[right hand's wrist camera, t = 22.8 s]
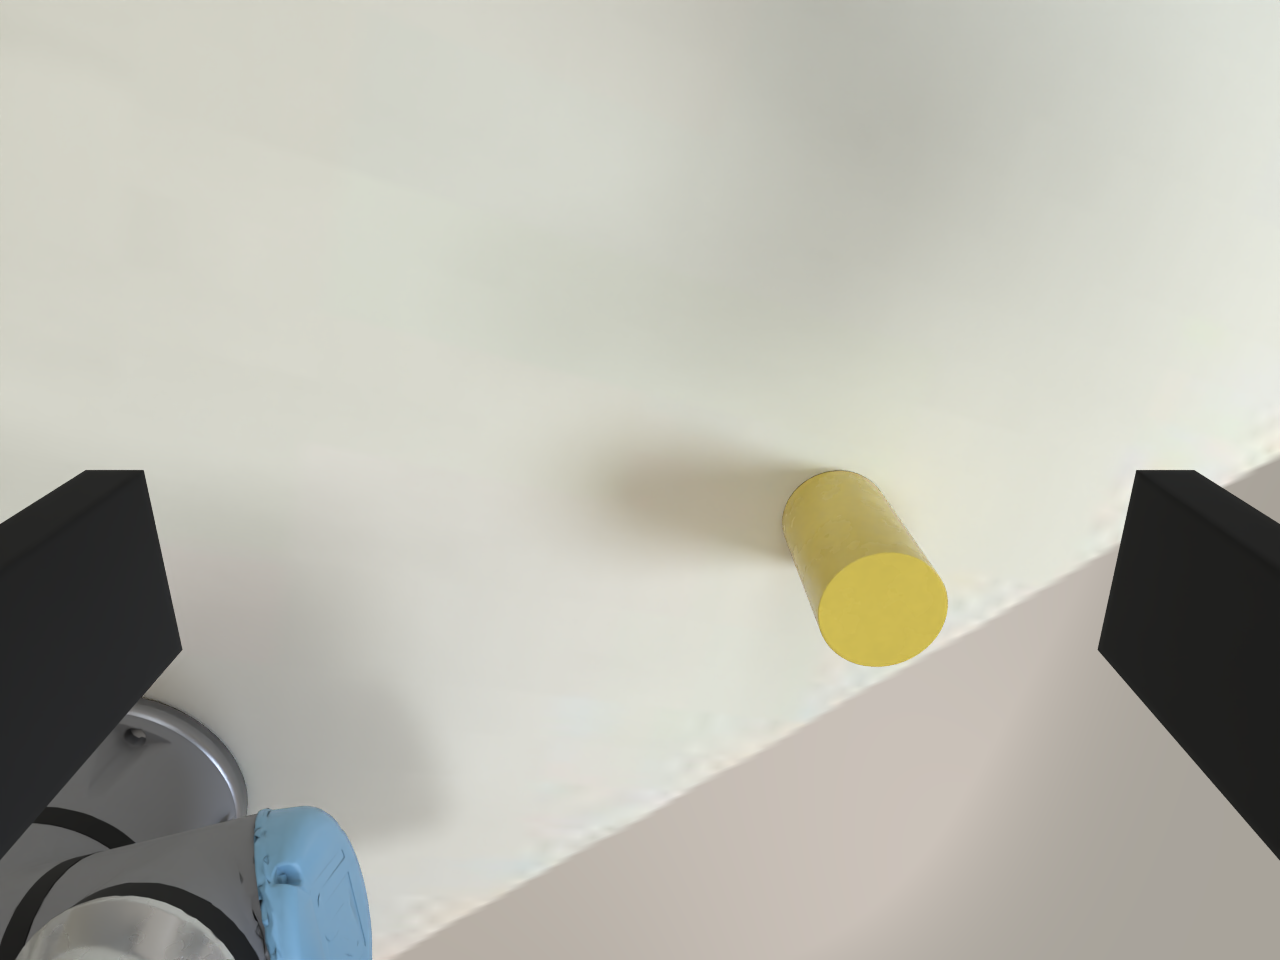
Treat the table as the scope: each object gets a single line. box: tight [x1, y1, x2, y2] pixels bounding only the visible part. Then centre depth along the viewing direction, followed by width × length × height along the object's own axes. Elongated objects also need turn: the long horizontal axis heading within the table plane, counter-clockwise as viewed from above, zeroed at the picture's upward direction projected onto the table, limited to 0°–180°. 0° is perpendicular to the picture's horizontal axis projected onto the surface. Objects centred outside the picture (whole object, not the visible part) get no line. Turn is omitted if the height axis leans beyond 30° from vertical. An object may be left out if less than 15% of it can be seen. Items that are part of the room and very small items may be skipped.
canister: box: [782, 471, 948, 667], centre depth 51 cm, size 6×6×11 cm
